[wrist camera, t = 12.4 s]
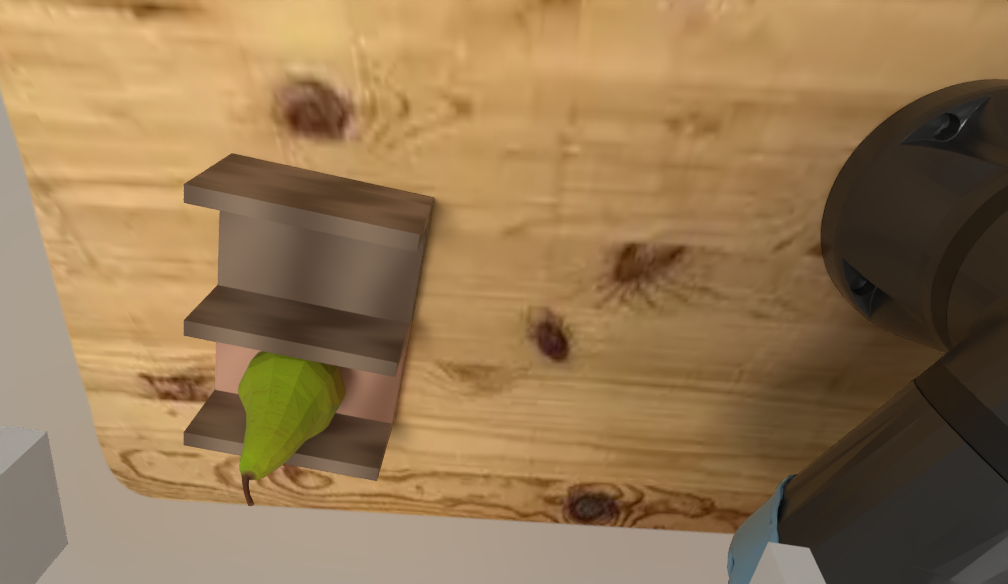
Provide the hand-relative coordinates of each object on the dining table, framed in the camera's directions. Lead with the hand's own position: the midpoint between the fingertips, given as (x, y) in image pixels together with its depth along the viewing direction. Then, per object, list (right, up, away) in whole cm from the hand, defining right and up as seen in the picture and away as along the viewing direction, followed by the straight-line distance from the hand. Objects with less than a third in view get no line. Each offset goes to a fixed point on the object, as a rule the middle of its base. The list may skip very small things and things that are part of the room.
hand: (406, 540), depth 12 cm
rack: (-10, +4, +30) cm, 32 cm away
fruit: (-11, 0, +31) cm, 33 cm away
